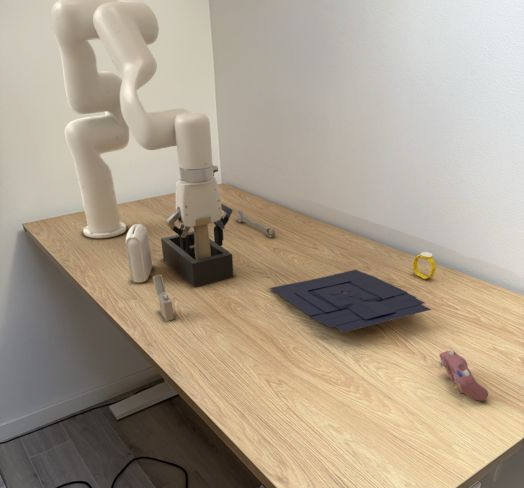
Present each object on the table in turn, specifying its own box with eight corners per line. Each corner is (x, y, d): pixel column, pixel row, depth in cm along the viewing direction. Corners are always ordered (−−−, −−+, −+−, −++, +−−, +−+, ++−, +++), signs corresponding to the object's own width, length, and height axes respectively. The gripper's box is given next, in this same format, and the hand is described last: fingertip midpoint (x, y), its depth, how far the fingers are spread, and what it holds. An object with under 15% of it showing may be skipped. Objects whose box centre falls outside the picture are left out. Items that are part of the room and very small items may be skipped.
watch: (408, 274, 126) (412, 251, 123) (416, 271, 127) (420, 248, 124) (427, 282, 122) (431, 259, 119) (435, 279, 123) (440, 256, 120)
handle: (209, 267, 131) (205, 210, 123) (218, 277, 126) (214, 218, 118) (191, 271, 130) (186, 212, 122) (199, 281, 125) (193, 221, 117)
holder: (163, 259, 136) (160, 238, 133) (199, 251, 141) (197, 230, 137) (194, 287, 122) (192, 263, 119) (233, 276, 126) (232, 254, 123)
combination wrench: (275, 227, 147) (238, 207, 160) (271, 227, 146) (235, 208, 160) (275, 239, 149) (238, 219, 162) (271, 240, 148) (235, 220, 162)
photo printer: (137, 266, 133) (129, 219, 126) (153, 266, 133) (147, 219, 126) (130, 283, 124) (121, 234, 117) (147, 283, 124) (140, 234, 117)
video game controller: (442, 376, 93) (431, 348, 89) (466, 365, 92) (456, 337, 88) (465, 411, 85) (453, 382, 81) (491, 400, 84) (481, 370, 80)
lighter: (174, 319, 109) (169, 285, 105) (166, 321, 108) (161, 286, 104) (164, 305, 114) (159, 272, 110) (156, 306, 114) (152, 273, 110)
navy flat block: (335, 348, 96) (335, 330, 94) (269, 299, 121) (268, 284, 119) (438, 320, 104) (440, 303, 103) (356, 279, 129) (356, 265, 127)
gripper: (223, 165, 121) (227, 236, 131) (153, 176, 114) (163, 250, 123) (238, 172, 116) (241, 245, 125) (166, 183, 108) (175, 261, 118)
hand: (202, 247), depth 124 cm, fingers open, 8 cm apart
